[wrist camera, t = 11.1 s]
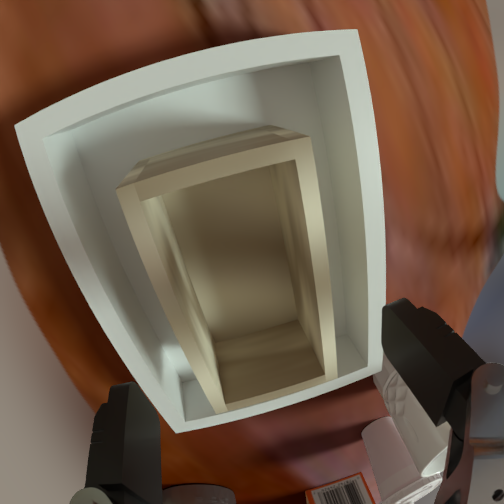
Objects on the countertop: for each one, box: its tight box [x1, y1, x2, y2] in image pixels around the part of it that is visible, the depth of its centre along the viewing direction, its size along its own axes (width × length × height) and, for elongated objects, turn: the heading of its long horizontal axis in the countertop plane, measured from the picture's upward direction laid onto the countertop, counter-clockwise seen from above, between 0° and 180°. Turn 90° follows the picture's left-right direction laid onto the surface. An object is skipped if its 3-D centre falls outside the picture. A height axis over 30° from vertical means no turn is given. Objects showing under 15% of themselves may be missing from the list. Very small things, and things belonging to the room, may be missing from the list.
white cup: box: [373, 351, 451, 477], centre depth 20 cm, size 8×8×10 cm
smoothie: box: [361, 417, 442, 504], centre depth 23 cm, size 6×6×14 cm
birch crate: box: [115, 125, 338, 414], centre depth 14 cm, size 11×6×5 cm, turn 13°
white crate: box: [14, 29, 386, 433], centre depth 15 cm, size 18×13×4 cm
